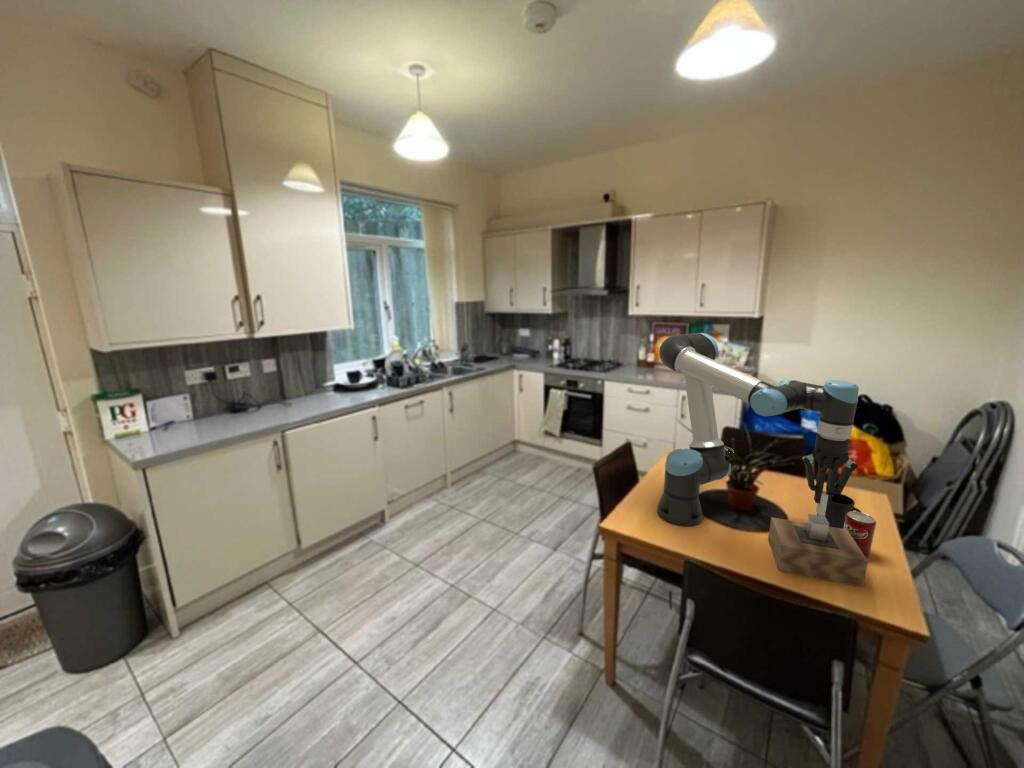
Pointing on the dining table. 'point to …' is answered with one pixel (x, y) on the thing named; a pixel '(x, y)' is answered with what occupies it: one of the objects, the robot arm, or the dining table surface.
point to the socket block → (817, 553)
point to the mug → (839, 510)
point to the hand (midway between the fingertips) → (820, 513)
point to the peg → (817, 528)
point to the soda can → (860, 529)
